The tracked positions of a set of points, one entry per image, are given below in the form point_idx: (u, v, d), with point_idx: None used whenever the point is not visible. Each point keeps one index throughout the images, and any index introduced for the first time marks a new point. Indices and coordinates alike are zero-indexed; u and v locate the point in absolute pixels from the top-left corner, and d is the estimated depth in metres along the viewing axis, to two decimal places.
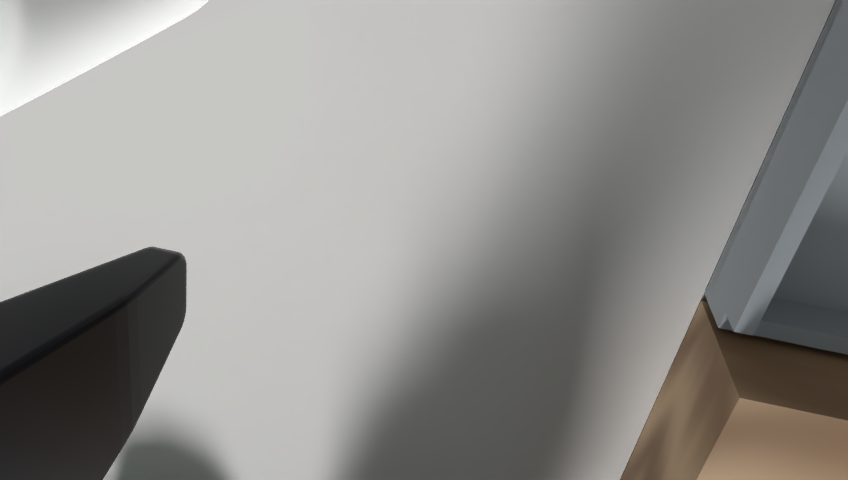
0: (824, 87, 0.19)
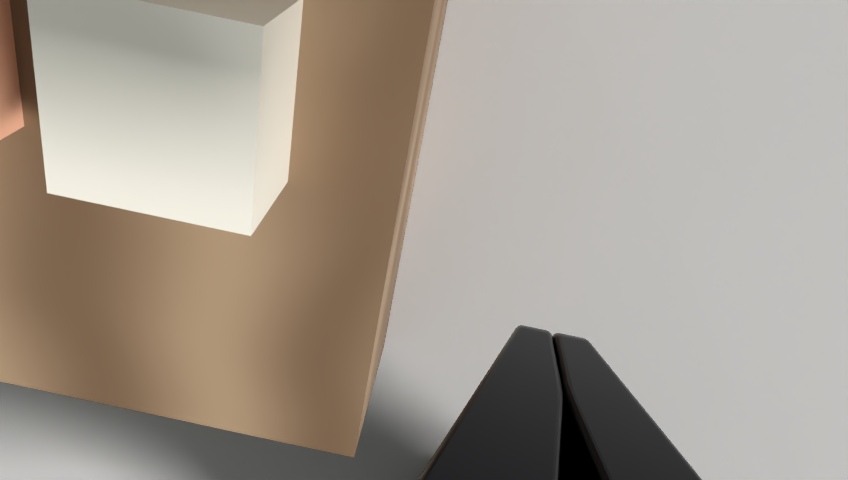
0: None
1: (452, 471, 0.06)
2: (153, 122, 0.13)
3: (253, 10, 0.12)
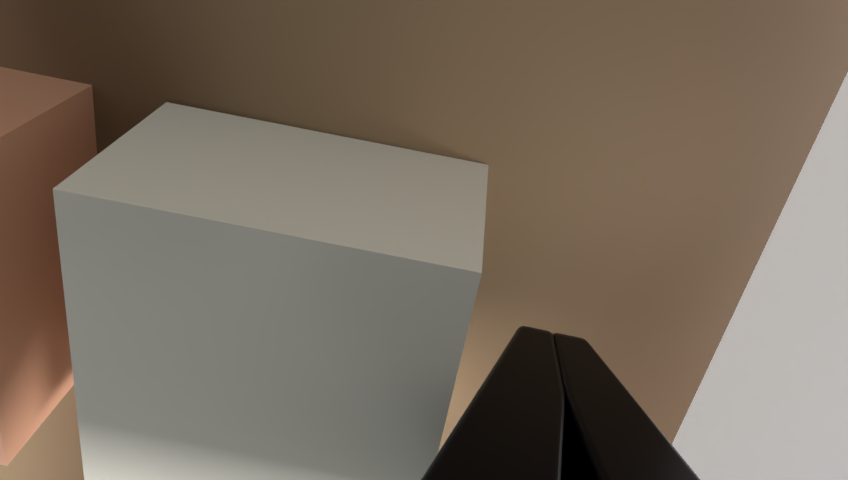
0: None
1: (455, 471, 0.06)
2: (269, 403, 0.08)
3: (440, 222, 0.07)
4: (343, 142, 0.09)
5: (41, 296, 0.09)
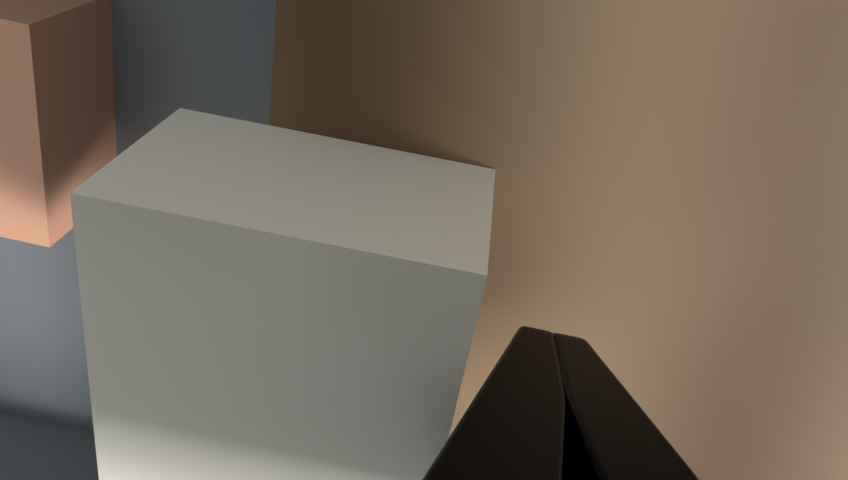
0: None
1: (456, 471, 0.06)
2: (279, 403, 0.08)
3: (448, 224, 0.07)
4: (352, 147, 0.09)
5: None
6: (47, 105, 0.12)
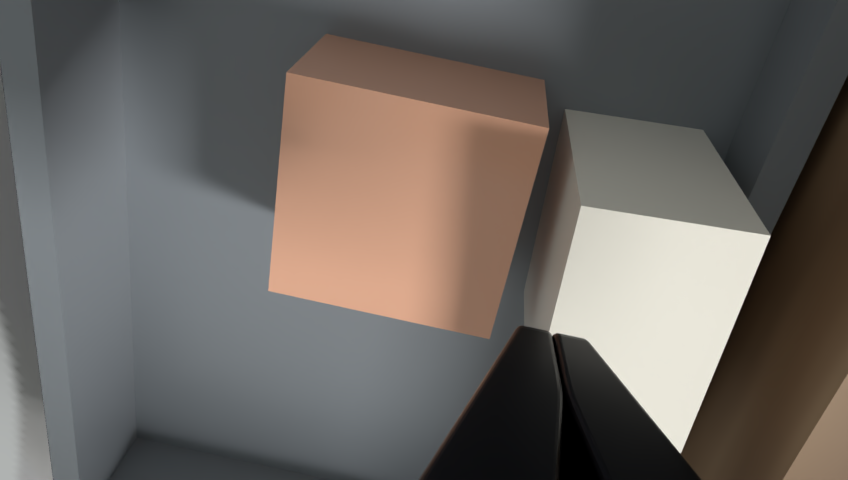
0: None
1: (452, 471, 0.06)
2: (545, 266, 0.12)
3: (638, 200, 0.10)
4: (723, 178, 0.11)
5: None
6: (525, 202, 0.11)
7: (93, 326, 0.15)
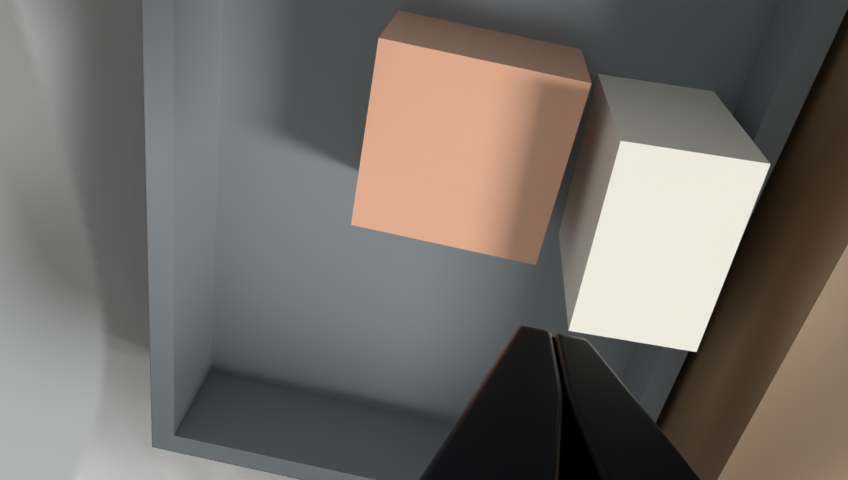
0: None
1: (452, 471, 0.06)
2: (583, 202, 0.15)
3: (665, 138, 0.12)
4: (731, 125, 0.13)
5: None
6: (569, 147, 0.14)
7: (191, 262, 0.17)
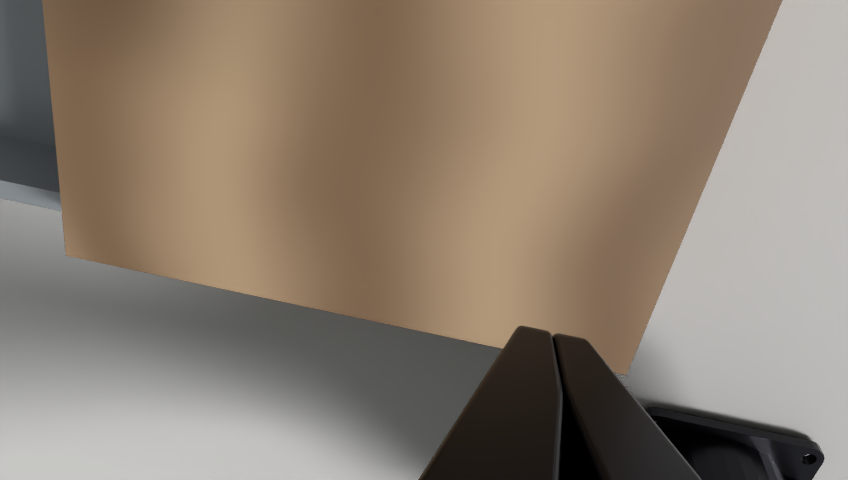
0: None
1: (452, 471, 0.06)
2: None
3: None
4: None
5: None
6: None
7: None
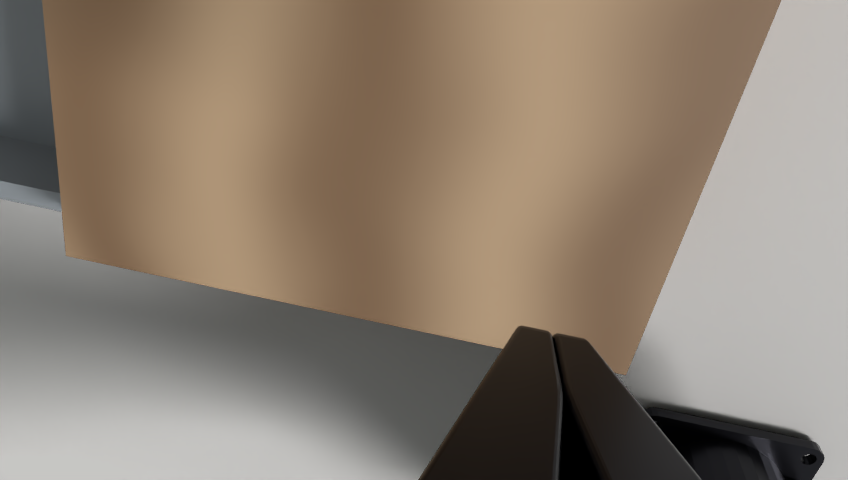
0: None
1: (452, 471, 0.06)
2: None
3: None
4: None
5: None
6: None
7: None
